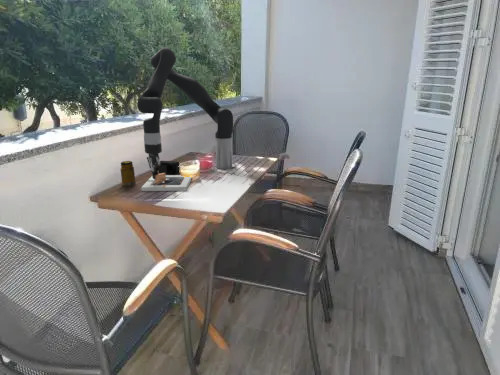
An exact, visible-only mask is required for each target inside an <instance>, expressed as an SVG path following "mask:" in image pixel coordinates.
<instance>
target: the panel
mask: <svg viewBox="0 0 500 375" xmlns="http://www.w3.org/2000/svg"><path fill="white" fill-rule="evenodd" d="M181 175H182V174H179V175H178V174H176V175H175V174H165V176H166V178H176V179H179V180H180V181H182V182H180V185H157V184H156V183H155V179H153V177H152V175H151V177H150V178H149V179H148V180H147V181H146V182H144V184H143V185H142V186H141V192H169V191H170V192H177V191H178V192H179V191H180V192H181V191H184V192H185V191H187V189H188V188H189V186H190V184H191V181H192V180H191V177H185V178H184V177H183V176H181ZM155 184H156V185H155Z"/></svg>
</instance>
